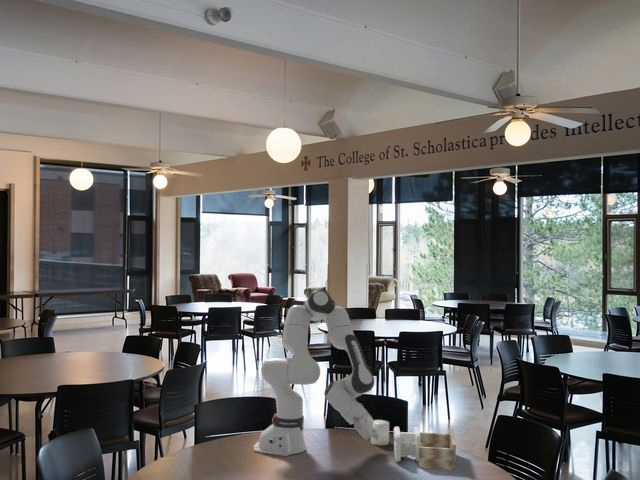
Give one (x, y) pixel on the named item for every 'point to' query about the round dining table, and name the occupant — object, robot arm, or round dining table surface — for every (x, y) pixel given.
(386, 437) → the mug
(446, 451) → the bracket
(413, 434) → the cable organizer
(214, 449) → the round dining table surface
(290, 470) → the round dining table surface
